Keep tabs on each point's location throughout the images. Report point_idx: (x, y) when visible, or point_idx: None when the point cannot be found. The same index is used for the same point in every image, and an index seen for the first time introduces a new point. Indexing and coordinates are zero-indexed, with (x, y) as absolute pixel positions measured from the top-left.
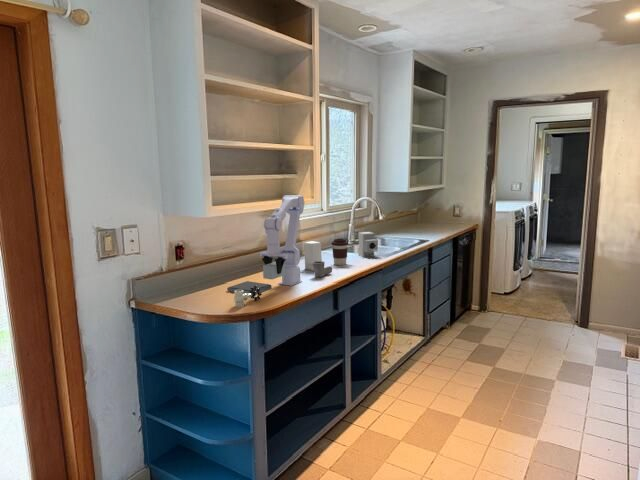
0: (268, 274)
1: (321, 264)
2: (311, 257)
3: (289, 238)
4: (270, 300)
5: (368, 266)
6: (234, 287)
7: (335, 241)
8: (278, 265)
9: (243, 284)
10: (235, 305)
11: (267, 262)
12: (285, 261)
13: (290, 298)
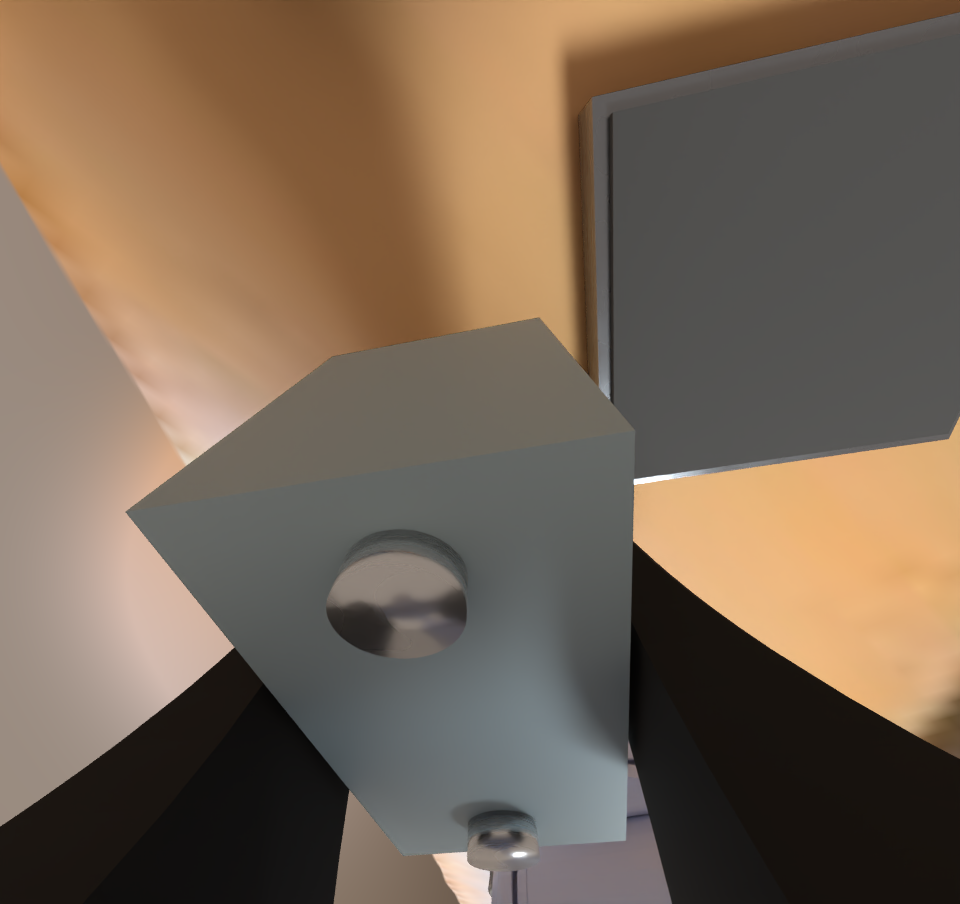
0: (394, 366)
1: (491, 871)
2: None
3: None
4: (206, 109)
5: (464, 885)
6: None
7: None
8: (182, 695)
9: (931, 294)
10: None
11: (663, 720)
12: (627, 860)
13: (160, 342)
